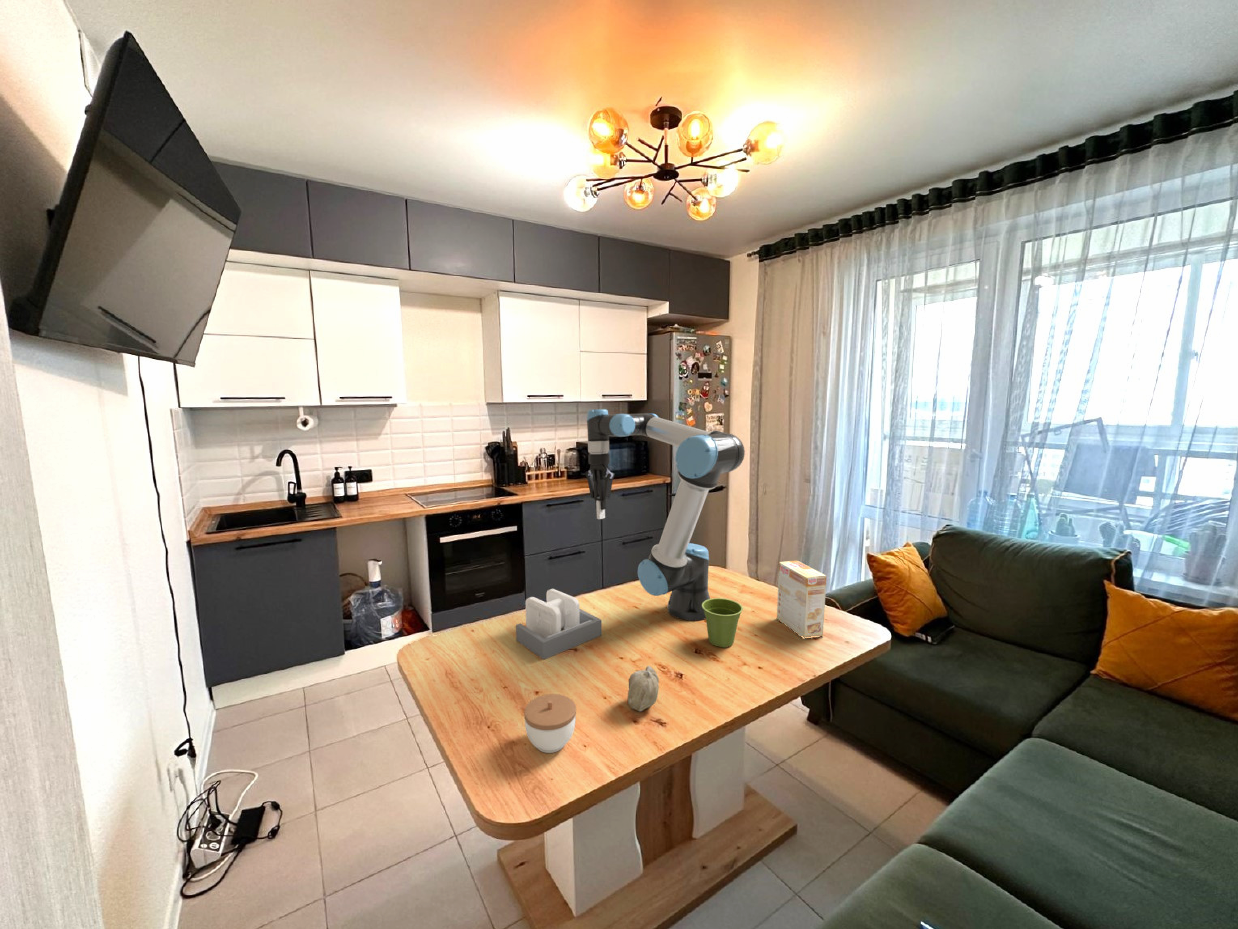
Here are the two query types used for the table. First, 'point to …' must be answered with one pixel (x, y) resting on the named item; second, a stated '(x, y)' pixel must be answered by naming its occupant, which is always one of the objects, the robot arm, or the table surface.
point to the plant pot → (721, 620)
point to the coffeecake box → (801, 598)
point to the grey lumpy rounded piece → (643, 689)
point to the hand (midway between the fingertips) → (601, 518)
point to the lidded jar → (550, 721)
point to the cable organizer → (552, 613)
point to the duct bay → (560, 636)
